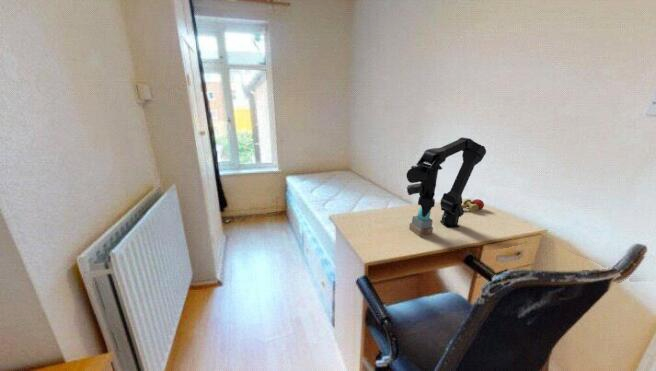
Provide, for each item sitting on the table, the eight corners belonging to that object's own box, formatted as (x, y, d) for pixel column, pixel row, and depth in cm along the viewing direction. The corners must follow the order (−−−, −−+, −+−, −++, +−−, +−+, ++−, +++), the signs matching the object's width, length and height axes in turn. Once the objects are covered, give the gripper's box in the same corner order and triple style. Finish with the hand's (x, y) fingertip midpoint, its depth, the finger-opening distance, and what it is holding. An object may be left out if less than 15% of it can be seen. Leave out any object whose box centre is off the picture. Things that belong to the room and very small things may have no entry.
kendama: (456, 216, 134) (488, 210, 136) (456, 205, 133) (487, 199, 135) (448, 212, 142) (477, 207, 144) (447, 202, 141) (477, 196, 142)
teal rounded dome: (425, 215, 115) (427, 206, 114) (431, 220, 111) (432, 211, 109) (415, 216, 115) (416, 207, 113) (420, 221, 110) (421, 211, 109)
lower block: (421, 227, 120) (422, 220, 118) (431, 234, 113) (433, 227, 112) (409, 229, 117) (409, 223, 116) (419, 237, 111) (420, 230, 110)
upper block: (422, 221, 118) (423, 214, 117) (431, 227, 113) (432, 220, 111) (411, 223, 116) (412, 216, 115) (420, 229, 111) (421, 222, 109)
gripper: (411, 172, 118) (407, 203, 123) (407, 183, 102) (402, 219, 107) (436, 175, 114) (431, 206, 119) (437, 187, 98) (431, 224, 103)
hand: (424, 213), depth 112 cm, fingers open, 7 cm apart
